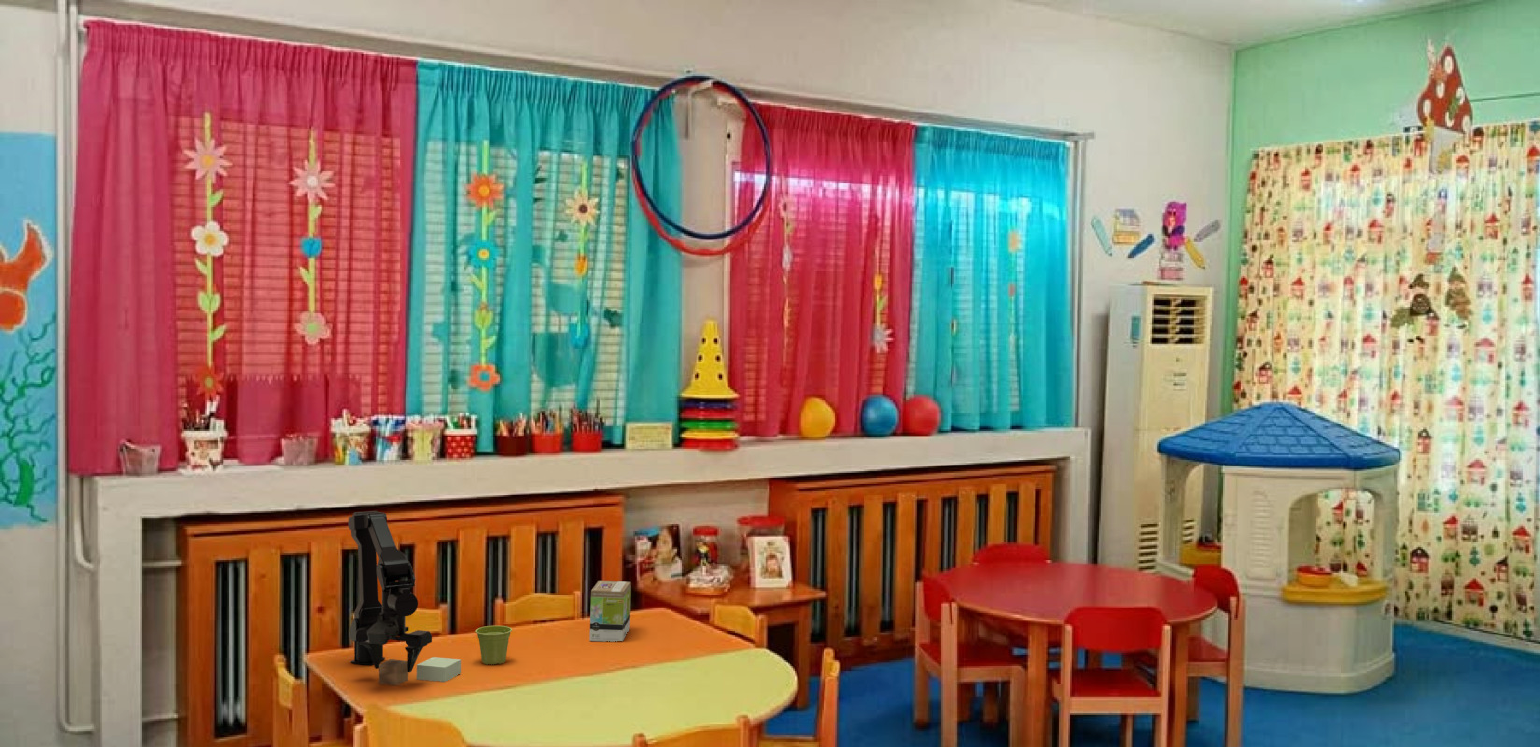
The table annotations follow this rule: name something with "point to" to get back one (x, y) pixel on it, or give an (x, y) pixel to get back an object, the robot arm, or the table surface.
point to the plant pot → (493, 643)
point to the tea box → (610, 611)
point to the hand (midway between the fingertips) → (393, 670)
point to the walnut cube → (393, 672)
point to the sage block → (438, 669)
